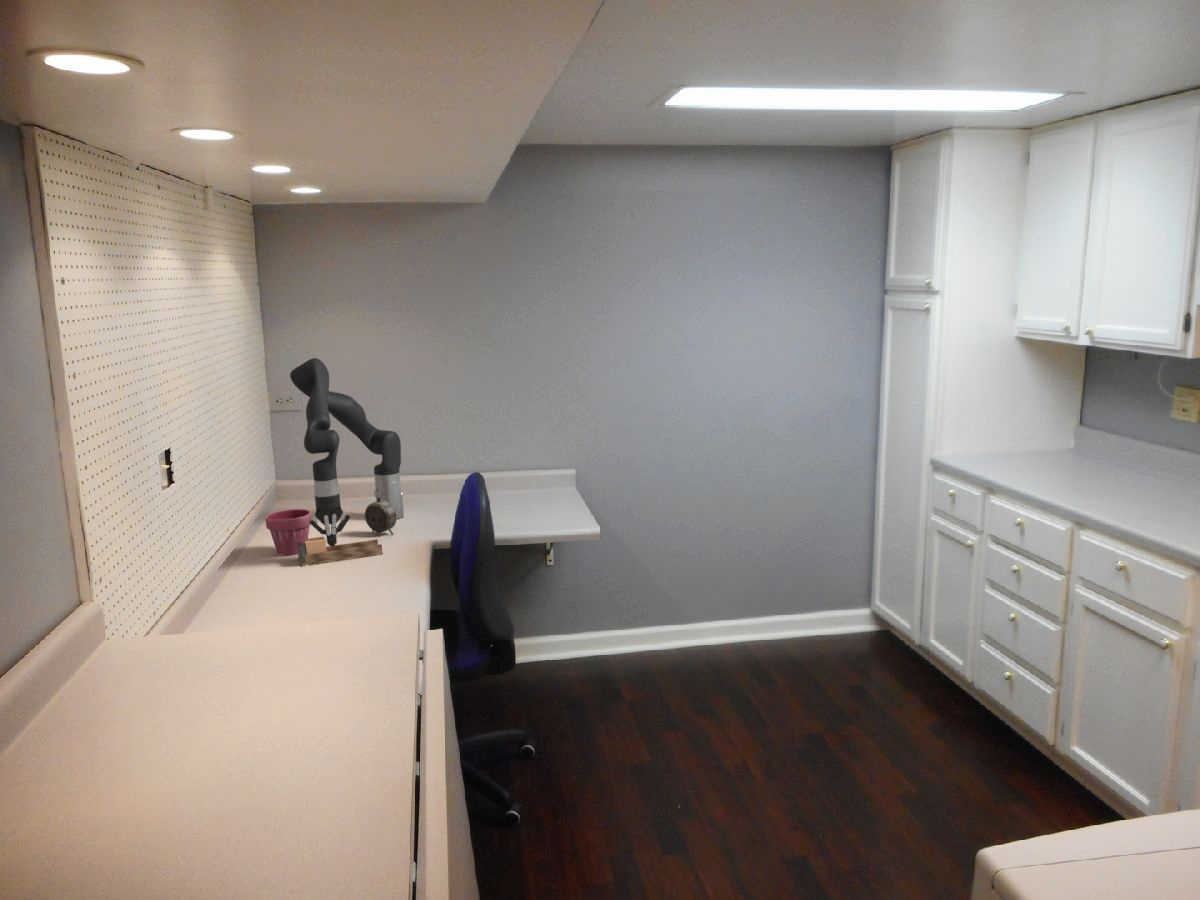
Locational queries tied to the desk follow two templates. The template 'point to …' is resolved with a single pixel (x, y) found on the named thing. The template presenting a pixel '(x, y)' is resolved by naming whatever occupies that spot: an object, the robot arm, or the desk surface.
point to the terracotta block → (315, 545)
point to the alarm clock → (380, 516)
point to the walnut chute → (340, 552)
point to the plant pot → (288, 529)
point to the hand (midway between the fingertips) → (332, 545)
